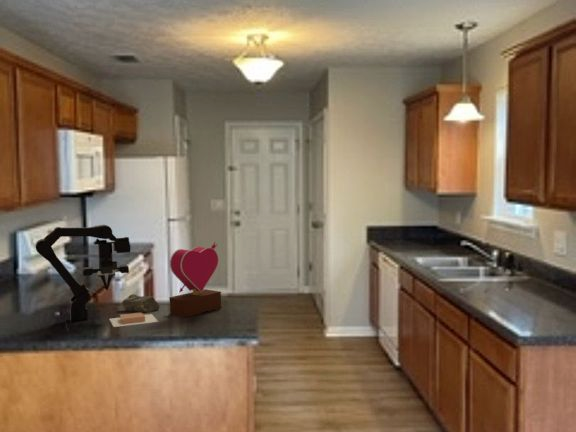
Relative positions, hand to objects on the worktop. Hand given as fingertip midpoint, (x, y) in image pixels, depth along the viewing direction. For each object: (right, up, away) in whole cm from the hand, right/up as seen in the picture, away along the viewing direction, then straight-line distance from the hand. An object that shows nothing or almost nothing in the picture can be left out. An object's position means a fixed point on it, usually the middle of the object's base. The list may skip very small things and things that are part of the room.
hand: (106, 290), depth 261 cm
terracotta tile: (+9, -11, -9) cm, 17 cm away
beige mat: (+13, -12, -7) cm, 20 cm away
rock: (+12, -11, +11) cm, 20 cm away
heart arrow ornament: (+38, -11, +10) cm, 41 cm away
